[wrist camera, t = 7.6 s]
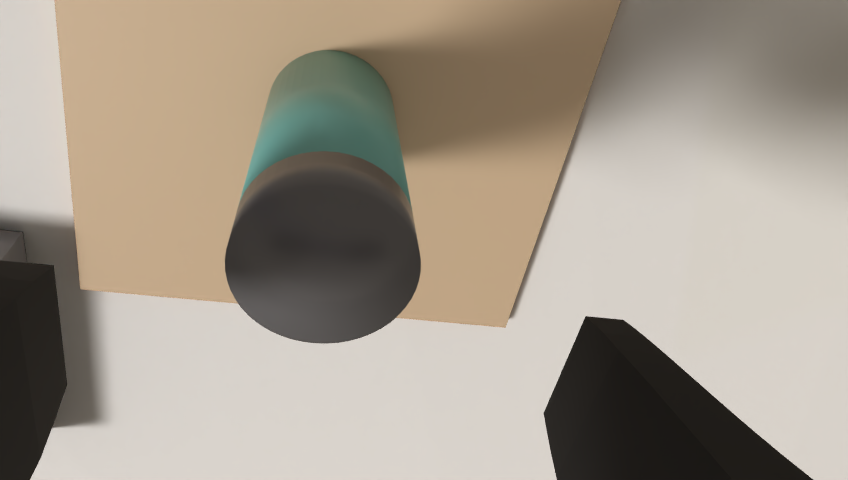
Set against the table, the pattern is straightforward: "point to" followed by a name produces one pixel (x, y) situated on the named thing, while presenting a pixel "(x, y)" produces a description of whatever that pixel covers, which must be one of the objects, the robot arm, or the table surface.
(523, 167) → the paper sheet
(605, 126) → the table surface
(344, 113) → the cylindrical container
